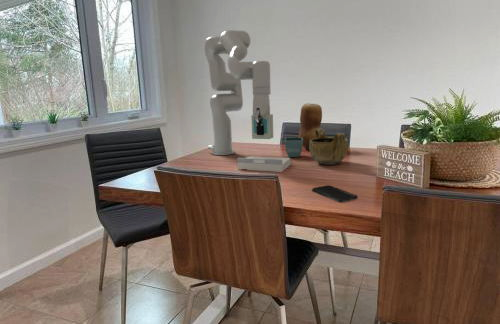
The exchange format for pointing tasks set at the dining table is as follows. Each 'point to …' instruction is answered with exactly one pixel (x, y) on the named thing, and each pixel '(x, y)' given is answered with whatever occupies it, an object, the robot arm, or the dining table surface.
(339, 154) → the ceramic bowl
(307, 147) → the butternut squash
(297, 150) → the flower pot
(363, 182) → the dining table surface
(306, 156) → the dining table surface
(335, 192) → the phone
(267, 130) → the carton
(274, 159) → the flat grey box
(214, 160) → the dining table surface
